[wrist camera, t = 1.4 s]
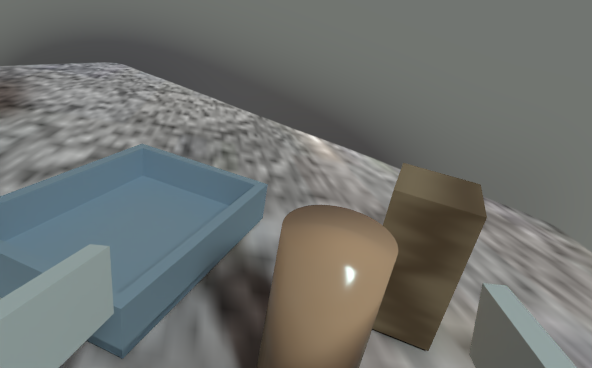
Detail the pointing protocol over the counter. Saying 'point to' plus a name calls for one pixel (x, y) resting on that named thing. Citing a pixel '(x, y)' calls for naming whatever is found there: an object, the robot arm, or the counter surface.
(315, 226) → the canister
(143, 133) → the counter surface
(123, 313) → the tray
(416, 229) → the walnut block
